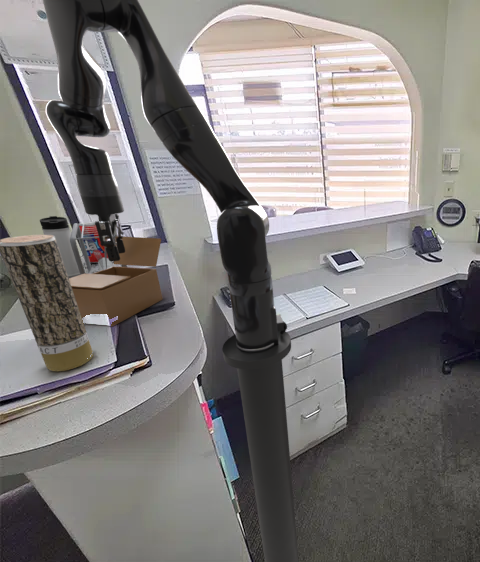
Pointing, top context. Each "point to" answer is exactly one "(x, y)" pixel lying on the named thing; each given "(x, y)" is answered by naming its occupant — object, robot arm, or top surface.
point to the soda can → (96, 241)
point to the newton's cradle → (102, 262)
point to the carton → (116, 292)
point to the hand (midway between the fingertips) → (118, 256)
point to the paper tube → (47, 300)
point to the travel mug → (61, 241)
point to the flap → (140, 251)
